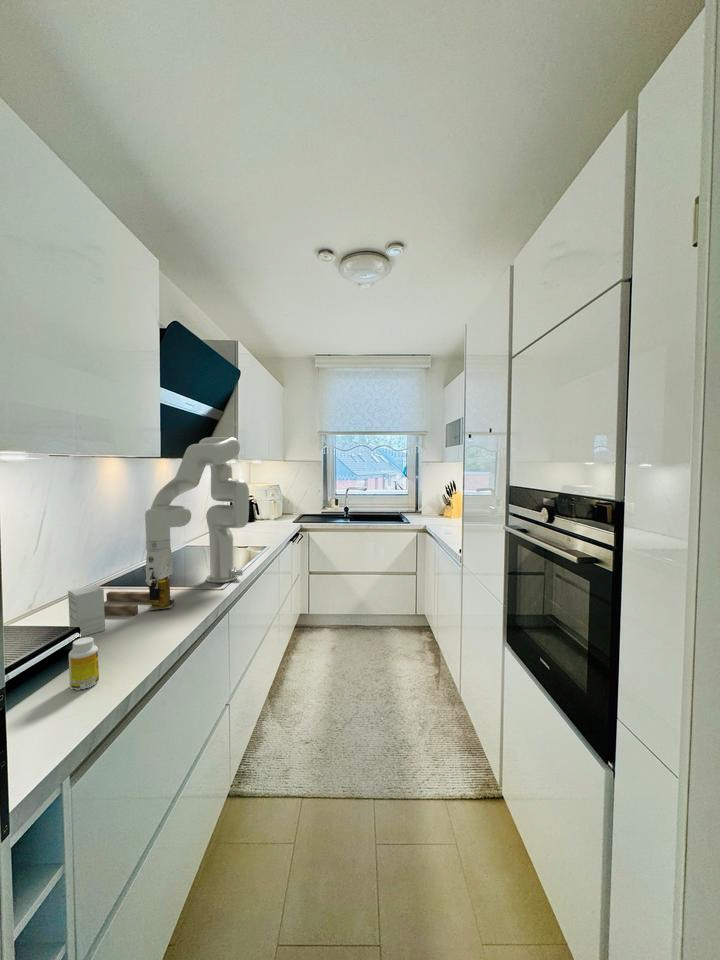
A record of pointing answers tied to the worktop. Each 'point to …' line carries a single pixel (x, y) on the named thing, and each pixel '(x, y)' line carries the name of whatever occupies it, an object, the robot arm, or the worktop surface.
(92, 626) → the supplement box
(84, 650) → the supplement bottle
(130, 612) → the channel
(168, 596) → the yellow and black cylinder
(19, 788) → the worktop surface
